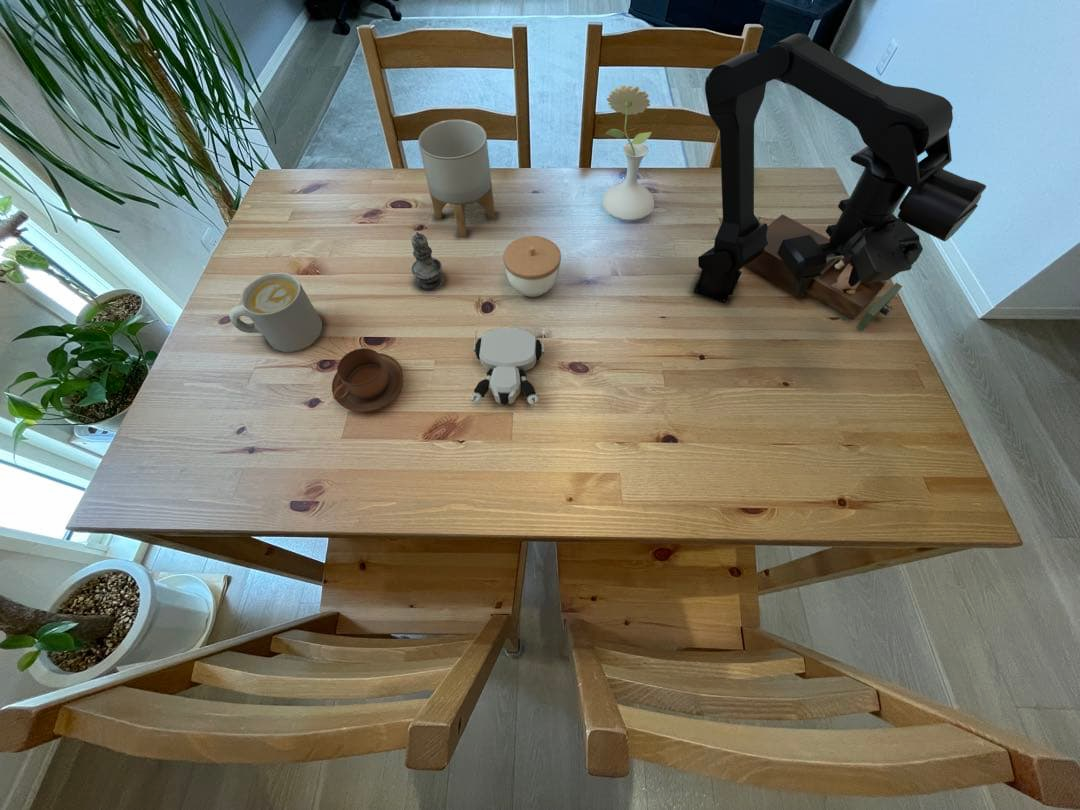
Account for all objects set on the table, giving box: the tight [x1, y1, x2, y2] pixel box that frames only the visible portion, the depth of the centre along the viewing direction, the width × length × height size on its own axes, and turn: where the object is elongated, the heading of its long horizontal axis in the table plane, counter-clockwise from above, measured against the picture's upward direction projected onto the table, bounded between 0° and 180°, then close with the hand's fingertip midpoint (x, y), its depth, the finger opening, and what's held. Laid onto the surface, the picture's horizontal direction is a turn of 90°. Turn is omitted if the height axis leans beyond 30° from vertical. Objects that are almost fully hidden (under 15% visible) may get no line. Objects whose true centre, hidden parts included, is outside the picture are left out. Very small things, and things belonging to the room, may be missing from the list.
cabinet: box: [744, 214, 834, 300], centre depth 100 cm, size 14×12×6 cm
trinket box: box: [502, 235, 562, 298], centre depth 97 cm, size 11×11×9 cm
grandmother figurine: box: [831, 255, 861, 294], centre depth 91 cm, size 8×4×13 cm, turn 99°
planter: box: [417, 119, 496, 237], centre depth 105 cm, size 13×13×18 cm
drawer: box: [805, 257, 903, 330], centre depth 95 cm, size 14×10×4 cm
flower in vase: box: [601, 84, 655, 222], centre depth 102 cm, size 13×11×25 cm
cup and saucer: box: [331, 347, 404, 413], centre depth 86 cm, size 12×12×6 cm
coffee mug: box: [229, 271, 323, 353], centre depth 91 cm, size 13×10×10 cm
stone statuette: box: [410, 231, 444, 292], centre depth 97 cm, size 6×6×12 cm
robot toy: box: [469, 326, 545, 406], centre depth 88 cm, size 12×4×15 cm
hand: (823, 290), depth 81 cm, fingers open, 9 cm apart
